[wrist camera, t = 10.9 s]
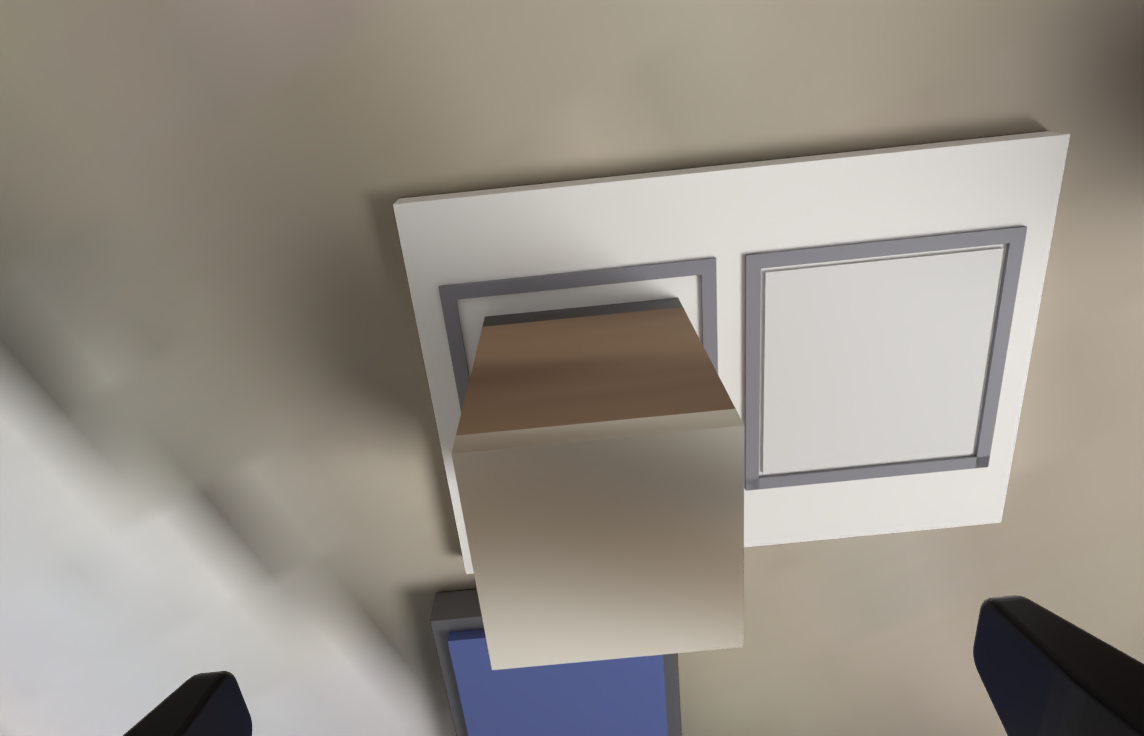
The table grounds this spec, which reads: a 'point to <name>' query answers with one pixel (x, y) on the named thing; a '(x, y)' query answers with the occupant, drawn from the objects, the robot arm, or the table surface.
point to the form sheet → (787, 311)
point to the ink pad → (548, 686)
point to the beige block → (601, 487)
